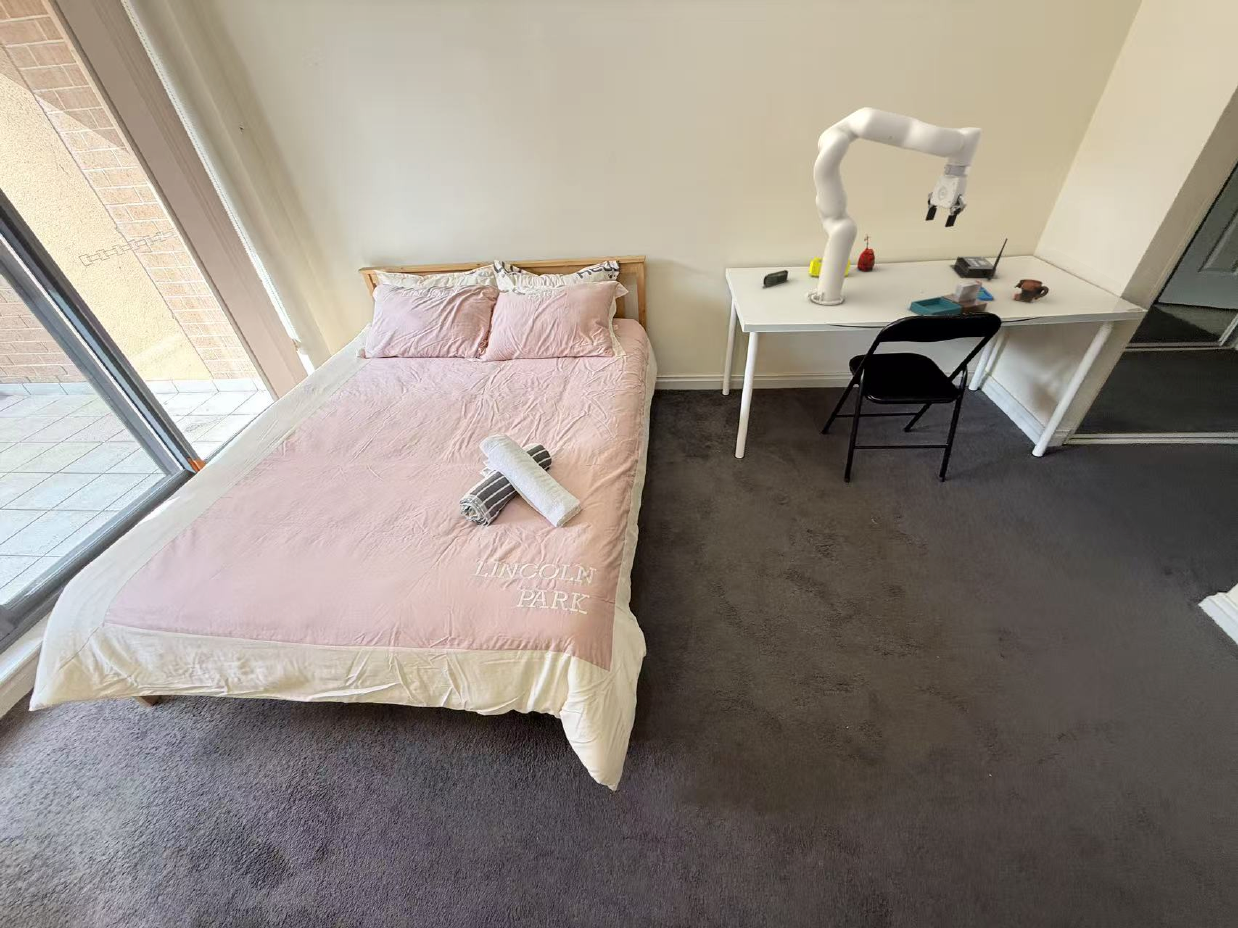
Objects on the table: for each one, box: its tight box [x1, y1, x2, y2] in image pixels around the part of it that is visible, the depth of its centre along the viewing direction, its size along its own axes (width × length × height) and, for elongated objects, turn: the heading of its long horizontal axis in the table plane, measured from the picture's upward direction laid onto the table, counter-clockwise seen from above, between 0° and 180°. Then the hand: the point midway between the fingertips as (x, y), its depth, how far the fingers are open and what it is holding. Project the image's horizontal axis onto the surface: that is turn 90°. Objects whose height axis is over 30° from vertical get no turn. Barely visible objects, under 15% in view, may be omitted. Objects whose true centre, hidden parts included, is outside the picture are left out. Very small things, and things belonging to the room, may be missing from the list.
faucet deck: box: [940, 292, 988, 315], centre depth 190 cm, size 13×13×3 cm
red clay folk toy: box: [856, 234, 876, 273], centre depth 222 cm, size 8×7×15 cm
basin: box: [908, 296, 963, 316], centre depth 188 cm, size 13×11×3 cm
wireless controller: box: [950, 238, 1008, 281], centre depth 211 cm, size 20×14×17 cm
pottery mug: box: [1013, 278, 1050, 303], centre depth 192 cm, size 12×10×8 cm
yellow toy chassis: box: [808, 257, 852, 278], centre depth 221 cm, size 16×6×8 cm, turn 83°
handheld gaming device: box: [977, 285, 995, 301], centre depth 200 cm, size 8×1×15 cm
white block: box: [953, 280, 984, 302], centre depth 187 cm, size 8×3×6 cm, turn 105°
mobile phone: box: [762, 269, 789, 289], centre depth 218 cm, size 5×3×15 cm
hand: (938, 223), depth 182 cm, fingers open, 9 cm apart
